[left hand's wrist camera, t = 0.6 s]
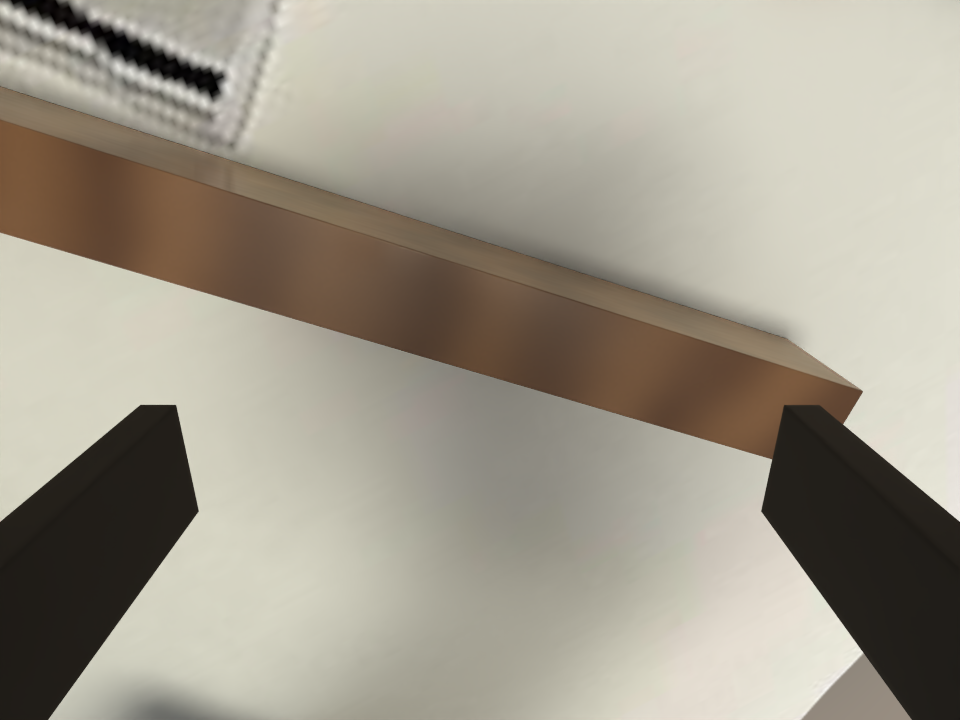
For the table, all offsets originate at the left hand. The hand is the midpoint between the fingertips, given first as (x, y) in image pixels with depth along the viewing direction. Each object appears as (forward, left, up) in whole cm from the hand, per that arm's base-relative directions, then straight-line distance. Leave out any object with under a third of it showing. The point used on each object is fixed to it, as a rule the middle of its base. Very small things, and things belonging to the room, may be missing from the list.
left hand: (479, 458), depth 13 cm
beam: (-3, +10, -24) cm, 26 cm away
